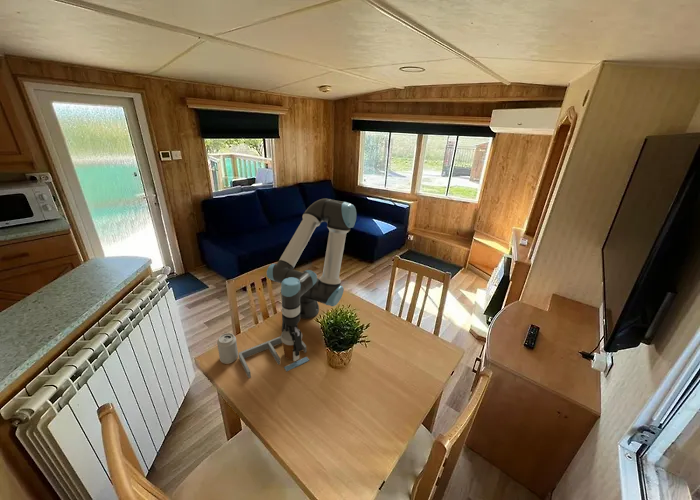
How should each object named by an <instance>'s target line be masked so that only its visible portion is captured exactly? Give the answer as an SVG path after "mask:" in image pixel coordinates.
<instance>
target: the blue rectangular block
mask: <svg viewBox="0 0 700 500" xmlns="http://www.w3.org/2000/svg"><path fill="white" fill-rule="evenodd" d="M307 362H310V359H309V358H308V356H305V357H302V358H299V359H298V360H296V361H293V362H291V363H289V364H288V365H284V367H283V368H284V370H285V372H288V371H291V370H294V369H296V368H298V367H300V366H301V365H304V364H305V363H307Z"/></svg>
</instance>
